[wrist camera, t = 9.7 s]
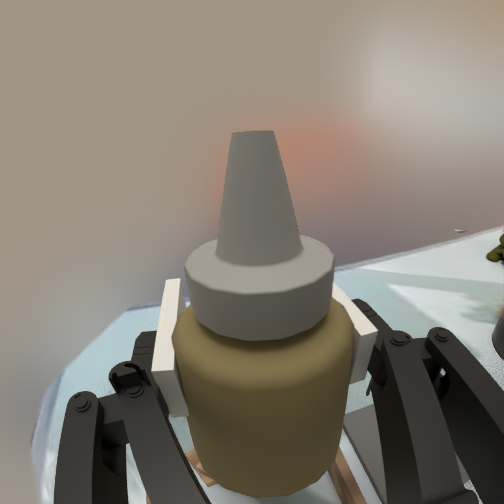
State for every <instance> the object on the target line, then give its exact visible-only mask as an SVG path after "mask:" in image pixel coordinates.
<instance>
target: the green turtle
mask: <svg viewBox="0 0 504 504" xmlns="http://www.w3.org/2000/svg"><path fill="white" fill-rule="evenodd" d="M500 243H501V244H500V245H499V246H497V247H496V248H495V249H493V250H492V251H490V252H489V253H488V254H487V258H488V259H489V260H490V261H493V262H496V261H498V260H499V259H500V258H501V257H502V256H503V258H504V234H503V235H502V236H501V237H500Z"/></svg>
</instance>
